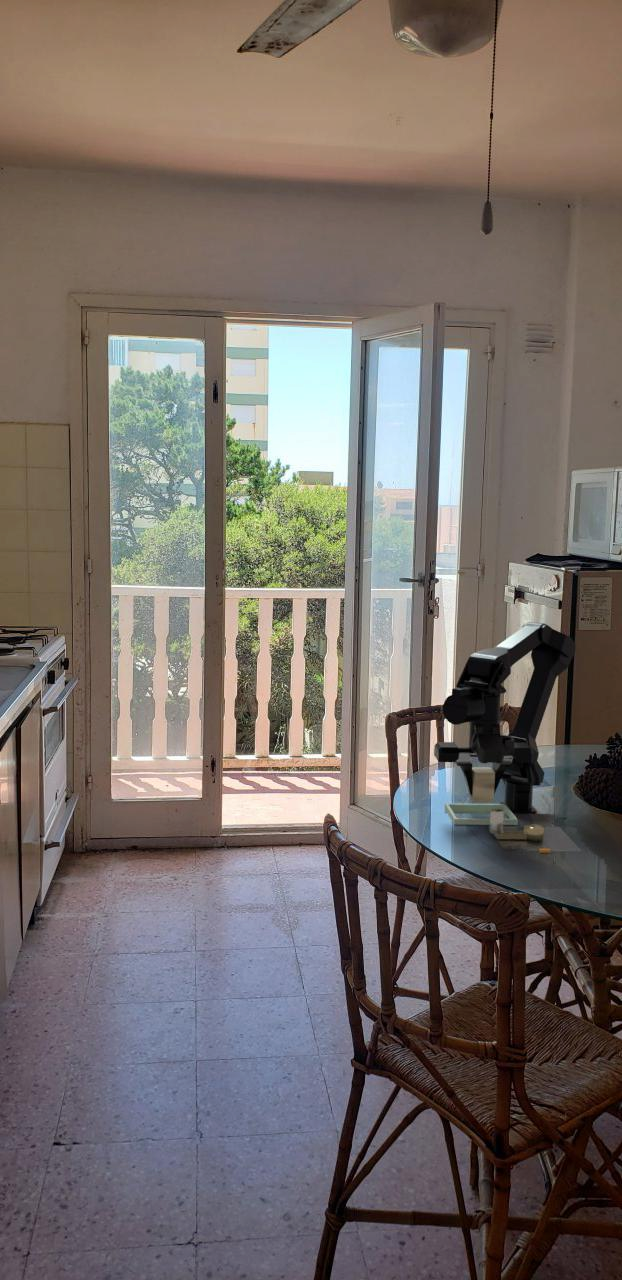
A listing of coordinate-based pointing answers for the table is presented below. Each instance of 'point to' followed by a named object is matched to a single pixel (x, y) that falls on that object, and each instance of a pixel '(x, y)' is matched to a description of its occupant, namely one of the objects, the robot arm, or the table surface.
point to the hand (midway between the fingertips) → (481, 794)
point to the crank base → (540, 842)
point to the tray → (478, 810)
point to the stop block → (483, 784)
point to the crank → (529, 832)
